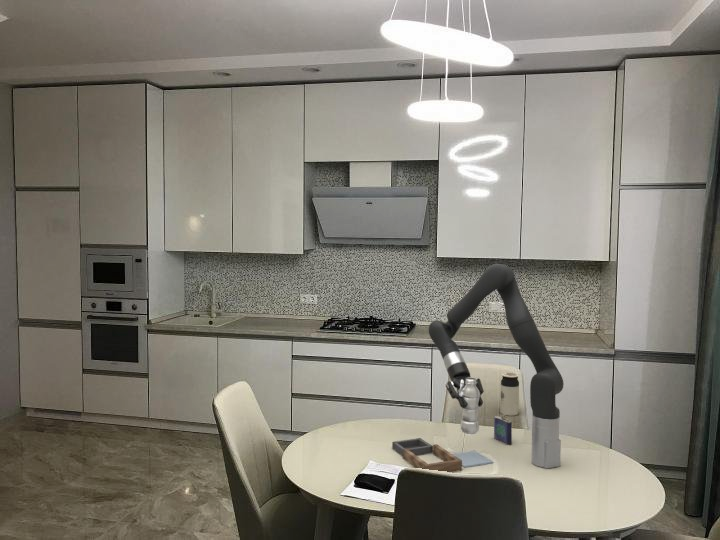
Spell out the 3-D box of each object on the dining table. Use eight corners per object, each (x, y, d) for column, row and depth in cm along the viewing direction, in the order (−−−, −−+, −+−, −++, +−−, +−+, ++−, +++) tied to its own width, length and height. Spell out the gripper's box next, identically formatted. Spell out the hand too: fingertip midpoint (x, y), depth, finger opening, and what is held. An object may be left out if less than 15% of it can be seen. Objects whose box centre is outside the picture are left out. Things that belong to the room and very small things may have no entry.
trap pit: (432, 452, 228) (432, 446, 227) (404, 457, 223) (404, 450, 223) (420, 444, 237) (420, 437, 237) (392, 448, 232) (392, 441, 232)
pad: (493, 463, 218) (493, 461, 218) (464, 467, 213) (464, 466, 213) (474, 451, 229) (474, 450, 229) (446, 456, 224) (446, 454, 224)
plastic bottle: (465, 428, 225) (466, 375, 224) (482, 432, 221) (483, 378, 219) (456, 433, 220) (457, 378, 219) (473, 437, 216) (474, 381, 215)
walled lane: (461, 470, 211) (461, 460, 211) (426, 476, 206) (426, 466, 205) (436, 453, 227) (436, 444, 227) (402, 458, 222) (402, 449, 222)
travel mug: (516, 411, 282) (517, 372, 280) (519, 416, 274) (520, 376, 273) (499, 410, 282) (500, 372, 281) (501, 415, 274) (502, 376, 273)
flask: (492, 438, 244) (492, 411, 244) (498, 437, 246) (498, 411, 245) (508, 445, 236) (508, 418, 235) (513, 444, 237) (514, 417, 237)
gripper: (443, 362, 223) (459, 403, 213) (476, 359, 228) (494, 399, 218) (435, 373, 228) (451, 413, 218) (468, 370, 234) (485, 409, 224)
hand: (472, 406), depth 218 cm, fingers closed on plastic bottle, 6 cm apart
